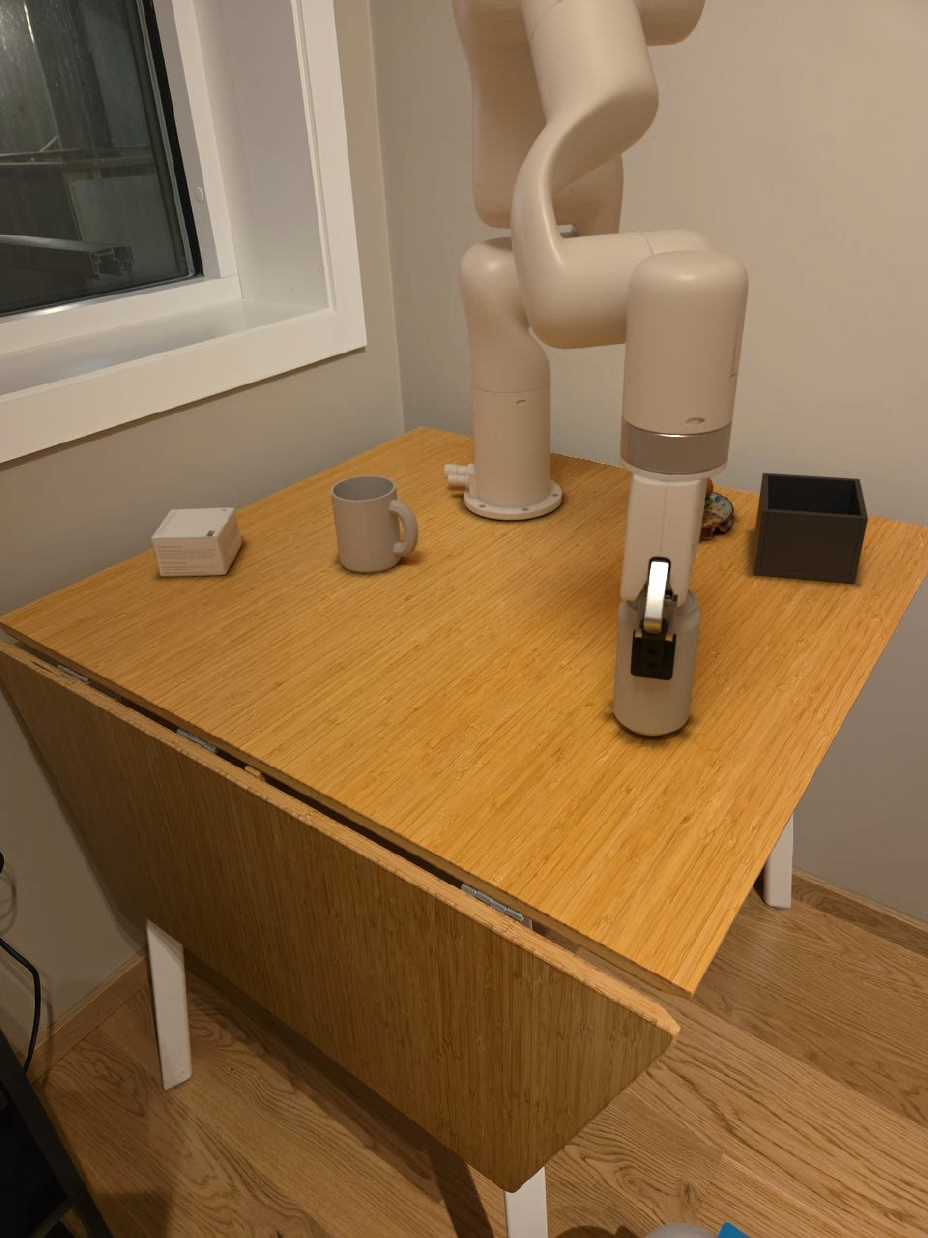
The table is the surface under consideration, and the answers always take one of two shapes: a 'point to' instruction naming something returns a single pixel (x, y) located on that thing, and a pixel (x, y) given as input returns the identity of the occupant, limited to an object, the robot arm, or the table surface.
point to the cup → (371, 524)
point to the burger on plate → (715, 512)
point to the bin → (809, 527)
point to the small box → (197, 542)
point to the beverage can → (655, 700)
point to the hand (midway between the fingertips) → (656, 648)
